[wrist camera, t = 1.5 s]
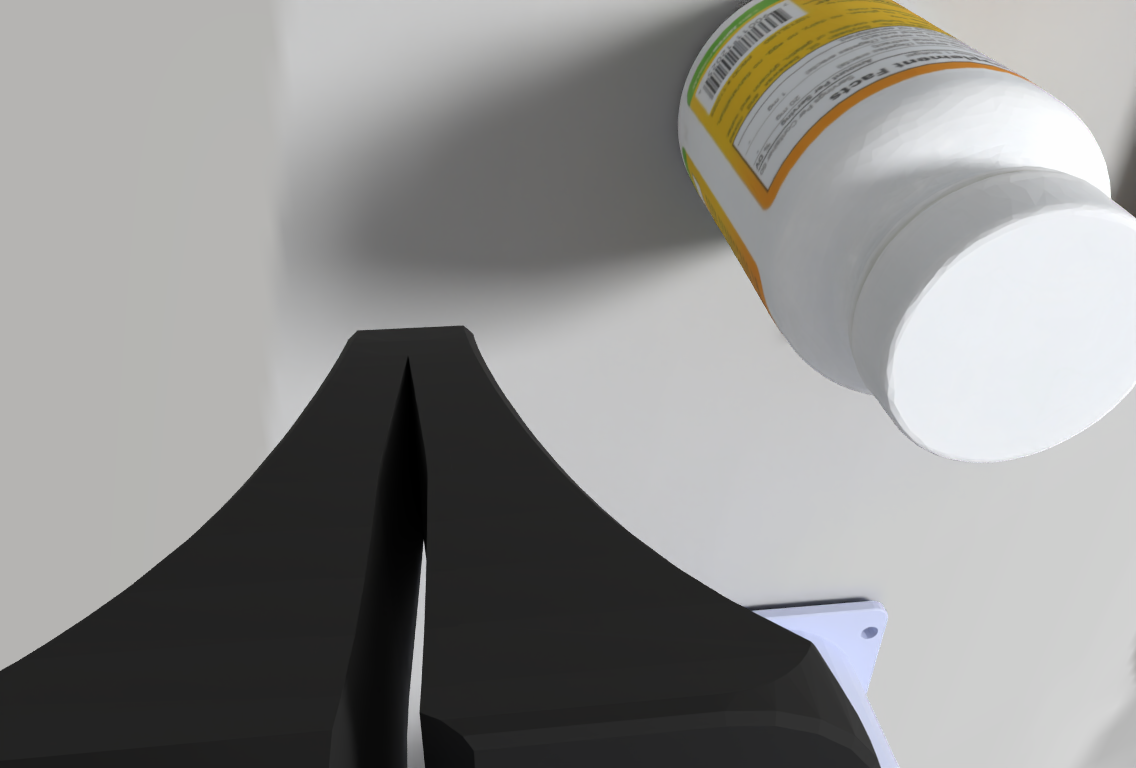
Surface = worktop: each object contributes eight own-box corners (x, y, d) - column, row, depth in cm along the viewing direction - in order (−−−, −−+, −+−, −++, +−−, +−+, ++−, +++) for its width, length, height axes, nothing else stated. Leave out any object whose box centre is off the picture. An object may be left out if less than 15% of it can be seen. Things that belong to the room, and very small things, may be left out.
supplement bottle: (890, 222, 23) (1145, 495, 15) (661, 226, 22) (800, 514, 14) (949, -25, 20) (1307, 149, 12) (687, -30, 19) (880, 153, 11)
